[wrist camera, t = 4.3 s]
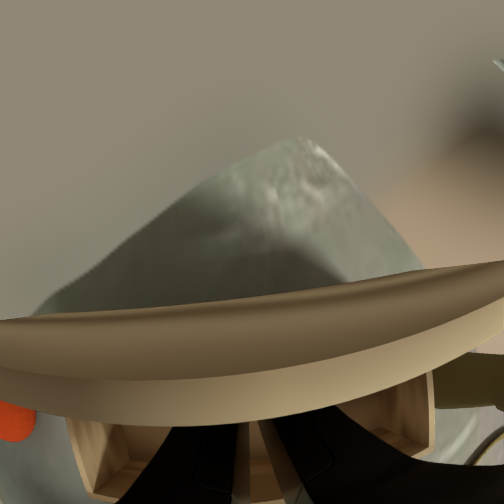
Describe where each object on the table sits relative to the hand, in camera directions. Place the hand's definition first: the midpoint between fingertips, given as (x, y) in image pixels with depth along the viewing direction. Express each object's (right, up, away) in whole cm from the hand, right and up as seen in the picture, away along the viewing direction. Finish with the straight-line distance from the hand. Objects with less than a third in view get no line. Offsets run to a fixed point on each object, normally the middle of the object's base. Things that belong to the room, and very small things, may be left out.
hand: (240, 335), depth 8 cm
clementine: (-23, -13, +9) cm, 27 cm away
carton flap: (0, 0, 0) cm, 0 cm away
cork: (+19, -10, +12) cm, 25 cm away
